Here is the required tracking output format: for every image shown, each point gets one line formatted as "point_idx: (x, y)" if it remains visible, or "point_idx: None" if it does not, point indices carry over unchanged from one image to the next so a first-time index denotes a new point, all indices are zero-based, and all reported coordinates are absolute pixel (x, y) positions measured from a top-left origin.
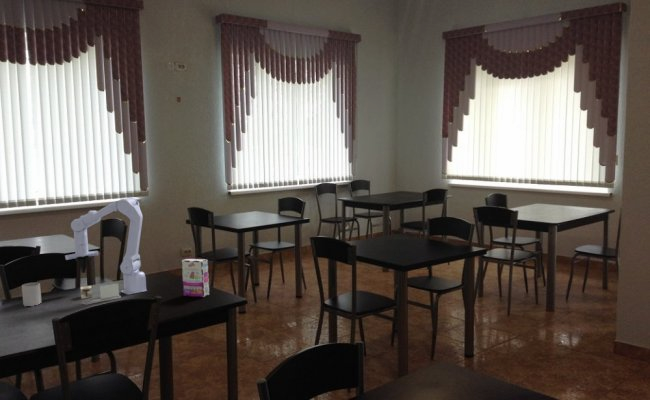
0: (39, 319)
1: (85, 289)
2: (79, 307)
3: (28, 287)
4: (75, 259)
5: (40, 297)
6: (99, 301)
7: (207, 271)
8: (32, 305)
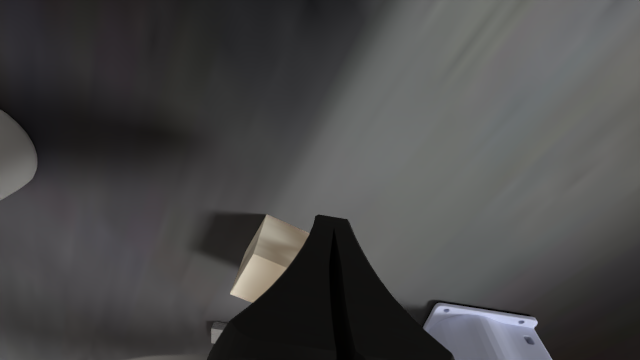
0: (30, 350)
1: (256, 299)
2: (185, 342)
3: None
4: (221, 339)
5: (2, 195)
6: None
7: None
8: None
